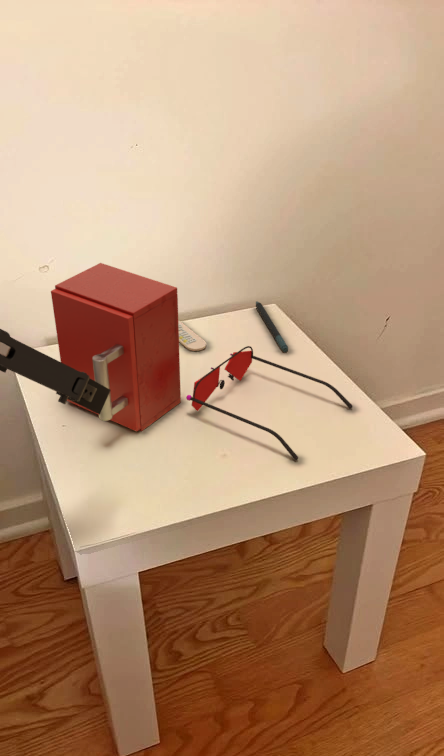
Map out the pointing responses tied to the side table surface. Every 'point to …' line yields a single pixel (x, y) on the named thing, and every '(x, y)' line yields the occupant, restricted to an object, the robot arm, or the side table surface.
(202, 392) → the glasses
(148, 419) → the cabinet
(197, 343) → the beige remote control
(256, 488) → the side table surface
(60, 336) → the door
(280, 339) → the pen
